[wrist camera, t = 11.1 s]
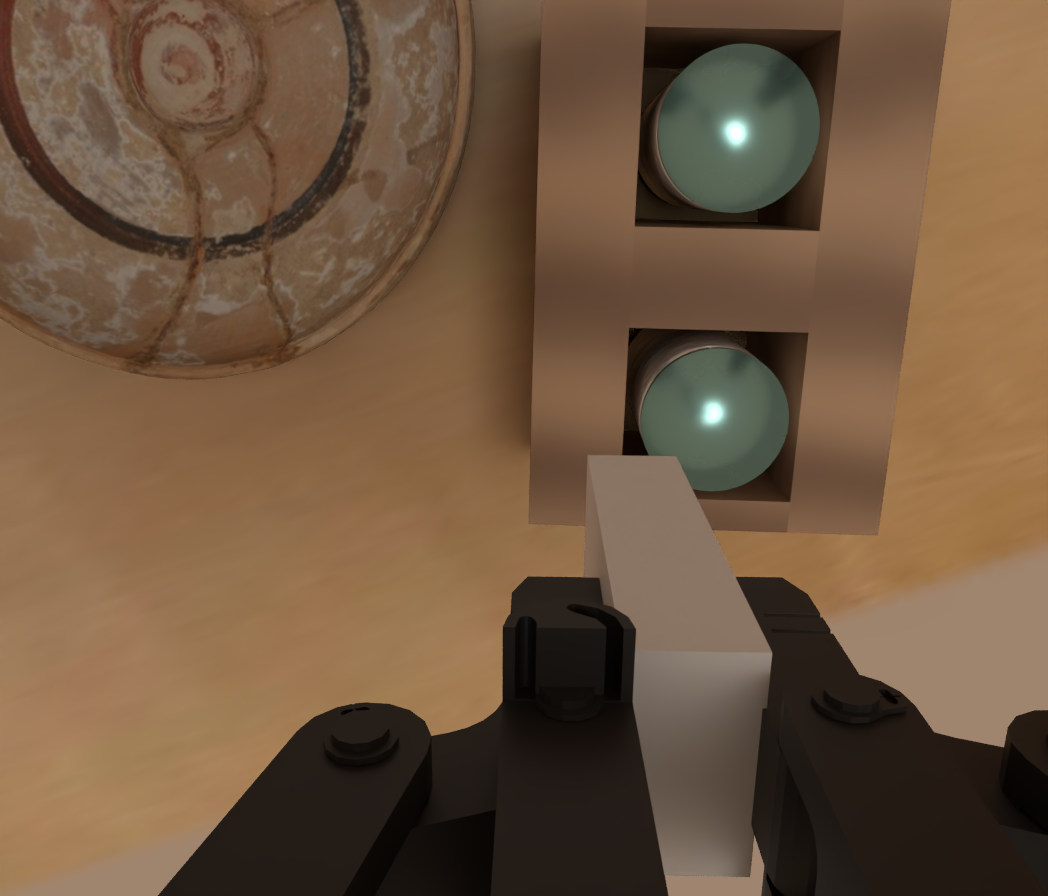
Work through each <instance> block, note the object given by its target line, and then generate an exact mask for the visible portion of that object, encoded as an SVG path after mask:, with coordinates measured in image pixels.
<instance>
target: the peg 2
mask: <svg viewBox="0 0 1048 896" xmlns="http://www.w3.org/2000/svg"><path fill="white" fill-rule="evenodd" d="M626 395H627V398H628V400H629V403H630V406H631V409H632V412H633V414H634V417H635V420H636V423H637V426H638V428H639V431H640V434H641V437H642V440H643V442H644V445H645V448H646V450H647V452H648V454H649V456H676V457H677V459H678V461H679V463H680V465H681V467H682V469H683V471H684V473H685V475H686V477H687V479H688V481H689V483H690V486H691V488H692V489H695V490H700V491H722V490H728V489H732V488H735V487H738V486H741V485H743V484H746V483H747V482H749V481H751V480H753V479H754V478H756V477H757V476H759V475H760V474H761V473H762V472H764V471H765V470H766V469H767V468H768V467H769V466H770V465H771V463H772V462H773V461H774V460H775V458H776V457H777V455H778V454H779V452H780V450H781V448H782V446H783V444H784V441H785V438H786V435H787V431H788V425H789V409H788V403H787V398H786V395H785V393H784V390H783V387H782V386H781V384H780V382H779V380H778V379H777V378H776V376H775V375H774V374H773V372H772V371H771V370H770V369H769V368H768V367H766V366H765V365H764V364H763V363H762V362H761V361H759V360H758V359H757V358H756V357H755V356H753V355H752V354H751V353H750V352H748V351H747V350H746V349H745V348H744V347H742V346H741V345H740V344H739V343H737V342H736V341H735V340H734V339H733V338H731V337H730V336H729V335H728V334H726V333H725V332H724V331H723V330H692V329H655V328H644V329H643V330H641V331H640V333H639V334H638V335H637V336H636V337H635V338H634V340H633V341H632V342H631V344H630V346H629V348H628V356H627V374H626Z"/></svg>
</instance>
